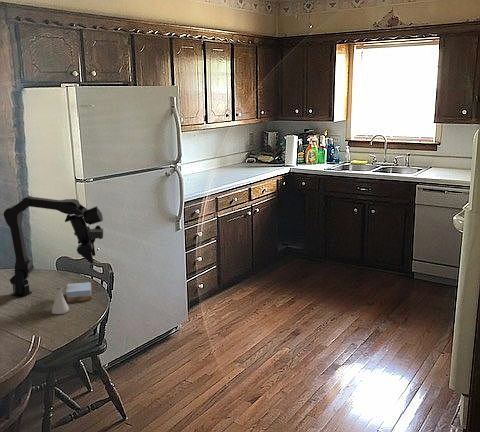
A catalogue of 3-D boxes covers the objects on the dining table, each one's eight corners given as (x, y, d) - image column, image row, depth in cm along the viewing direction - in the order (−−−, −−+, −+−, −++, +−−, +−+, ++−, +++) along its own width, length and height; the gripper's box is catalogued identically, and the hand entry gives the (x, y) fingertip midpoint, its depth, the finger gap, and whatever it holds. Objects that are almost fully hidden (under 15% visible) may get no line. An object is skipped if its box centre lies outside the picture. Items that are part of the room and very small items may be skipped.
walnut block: (67, 303, 230) (66, 297, 229) (68, 294, 239) (67, 289, 238) (91, 301, 232) (91, 295, 231) (91, 292, 241) (91, 287, 241)
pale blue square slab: (66, 297, 229) (66, 292, 228) (67, 289, 238) (67, 284, 238) (90, 295, 231) (90, 290, 231) (91, 287, 241) (90, 282, 240)
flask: (66, 315, 216) (64, 291, 214) (48, 314, 216) (46, 291, 214) (72, 308, 223) (70, 285, 221) (54, 307, 223) (53, 285, 221)
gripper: (96, 228, 224) (109, 261, 229) (99, 215, 241) (112, 246, 246) (70, 236, 223) (84, 269, 228) (75, 223, 240) (88, 254, 246)
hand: (93, 259), depth 237 cm, fingers open, 9 cm apart
